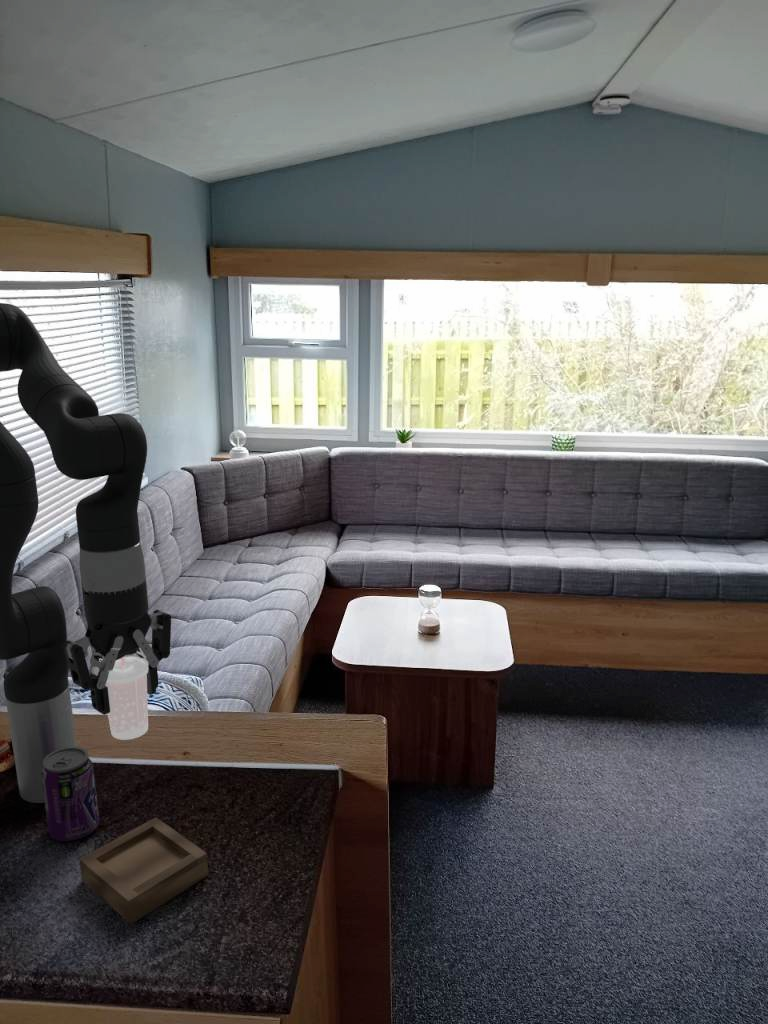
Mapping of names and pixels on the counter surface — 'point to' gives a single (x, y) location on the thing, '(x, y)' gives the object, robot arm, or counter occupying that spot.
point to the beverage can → (69, 794)
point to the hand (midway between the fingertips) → (126, 701)
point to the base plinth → (143, 869)
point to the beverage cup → (128, 698)
